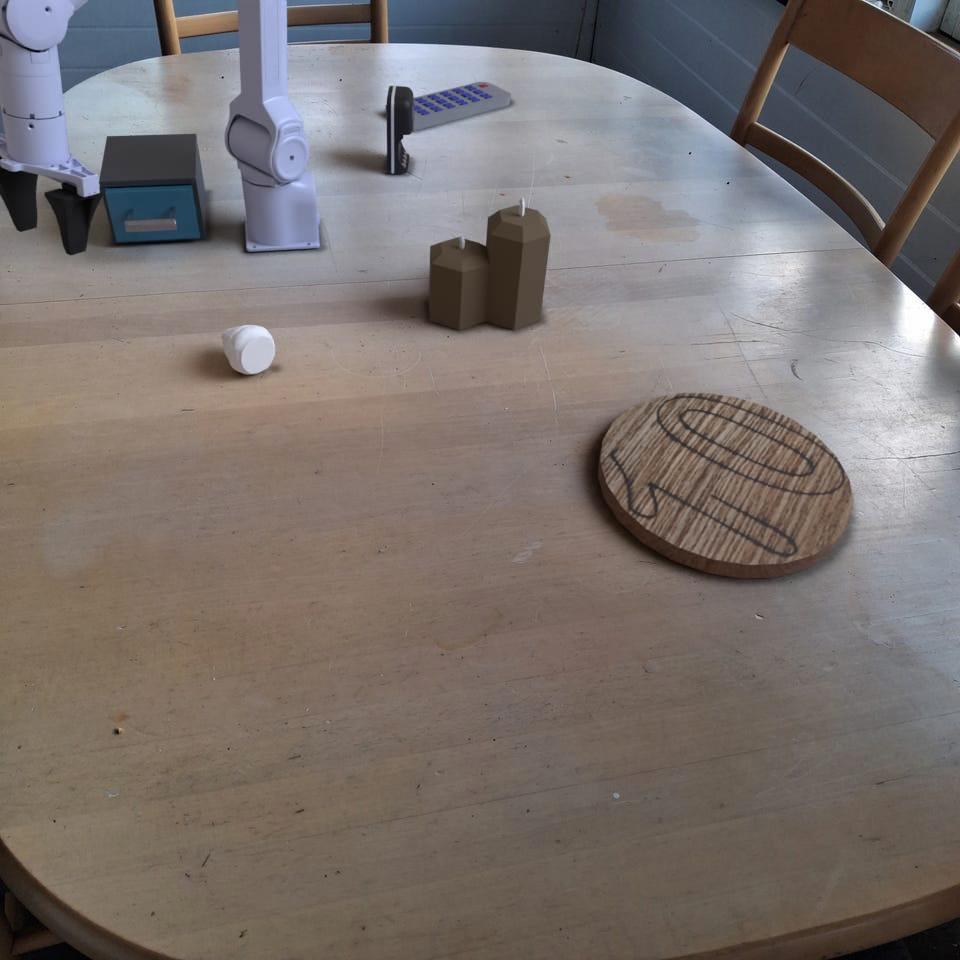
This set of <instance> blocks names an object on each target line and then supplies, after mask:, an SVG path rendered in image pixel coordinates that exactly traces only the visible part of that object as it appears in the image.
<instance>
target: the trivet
mask: <svg viewBox="0 0 960 960" xmlns="http://www.w3.org/2000/svg"><path fill="white" fill-rule="evenodd" d="M599 451H600V452H599V459H598V468H597V478H598V482H599V486H600V489H601V493H602V497H603V500H604V501H605V502H606V505H607V506H608V507H609V509H610V510H611V511H612V512H613V515H614V517H615V518H616V520H617V521H618V522H619V523H620V524H621V525H622V526H623V527H624V528H626V530H627V531H629V532H630V533H631V534H632V535H633V536H634V537H635V538H636V539H637V540H638V541H639V542H641V543H642V544H644V545H645V546H647V547H649V548H650V549H652V550H654V551H655V552H657V553H659V554H660V555H662V556H664V557H666V558H667V559H669V560H671V561H672V562H676V563H679V564H681V565H684V566H687V567H690V568H692V569H695V570H697V571H700V572H703V573H706V574H712V575H717V576H718V575H719V576H724V577H729V578H735V579H741V580H742V579H743V580H744V579H771V578H774V579H775V578H780V577H783V576H788V575H790V574H794V573H798V572H802V571H805V570H807V569H809V568H812V567H813V566H814V565H815V564H817V563H818V562H820V561H822V560H823V559H825V558H827V557H828V556H830V554H831V553H832V551H833V550H834V549H835V547H836V546H837V545H838V544H839V542H840V540H841V539H842V538H843V536H844V534H845V532H846V530H847V529H848V526H849V524H850V520H851V516H852V511H853V507H854V502H855V501H854V495H853V490H852V485H851V479H850V477H849V475H848V474H847V472H846V470H845V468H844V467H843V465H842V463H841V462H840V459H839V458H838V457H837V455H836V454H835V453H834V452H833V451H832V450H831V449H830V448H829V447H828V446H827V444H825V442H823V440H822V439H821V438H820V437H819V436H818V435H816V434H815V433H813V432H812V431H811V430H809V429H808V428H806V427H805V426H803V425H802V424H801V423H799V422H798V421H797V420H795V419H793V418H791V417H790V416H789V417H788V416H786V415H784V414H782V413H781V412H778V411H776V410H774V409H773V408H770V407H768V406H766V405H764V404H759V403H756V402H753V401H749V400H746V399H743V398H740V397H737V396H729V395H723V394H716V393H709V392H678V393H672V394H667V395H662V396H657V397H653V398H649V399H648V400H645V401H642V402H641V403H638V404H636V405H633V406H631V407H629V408H628V409H627V410H626V411H624V412H623V413H622V414H621V415H620V416H618V417H617V418H616V419H614V421H612V423H611V424H610V427H609V428H608V431H607V432H606V434H605V435H604V437H603V439H602V442H601V446H600V450H599Z"/></svg>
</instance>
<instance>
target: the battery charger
mask: <svg viewBox="0 0 960 960" xmlns="http://www.w3.org/2000/svg"><path fill="white" fill-rule="evenodd" d="M414 98H415V97H414V92H413V90H412V88H411V87H409V86H401V85H395V84H393V85H390V86H388V90H387V96H386V105H387V116H386V173H388V174H391V175H393V174H405V173H407V172H408V171H409V165H410V154H409V153H408V152H407V151H406V148H405V147H404V144H403V141H402V140H403V139H404V136H410V135H411V134H412V133H413V132H414V131H413V123H414Z"/></svg>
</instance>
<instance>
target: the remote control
mask: <svg viewBox="0 0 960 960" xmlns="http://www.w3.org/2000/svg"><path fill="white" fill-rule="evenodd" d="M511 96H512V93H511V92H508V91H507V90H505V89H503V88H501V87H499V86H498V85H495V84H493V83H492V82H491V83H490V82H487V81H476V82H472V83H468V84H465V85H460V86H456V87H451V88H448V89H443V90H439V91H435V92H432V93H431V92H430V93H428V94H423V95H419V96H415V97H414V123H413V131H412V132H417V131H420V130H425V129H427V128H431V127H435V126H438V125H443V124H445V123H449V122H454V121H457V120H461V119H465V118H468V117H473V116H476V115H479V114H482V113H488V112H491V111H495V110H497V109H502V108H505V107H508V106H509V105H510V104H511V98H512V97H511ZM385 116H386V117H387V104H385Z"/></svg>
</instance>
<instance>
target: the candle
mask: <svg viewBox="0 0 960 960" xmlns="http://www.w3.org/2000/svg"><path fill="white" fill-rule="evenodd" d="M518 203H519V204H516V205H513V206H508V207H505V208H502V209H499V210H497V211H495V212H494V213H493V214H491V215H489V216H488V217H487V223H486V224H487V225H486V240H485V245H484V244H483V243H480V242H478V241H474V240H471V239H467V238H465V237H464V236H463V235H460V236H458V237H454V238H451V239H448V240H444V241H440V242H438V243H435V244H432V245H430V246H429V273H428V274H429V275H428V276H429V278H428V279H429V280H428V309H429V321H430V322H432V323H435V324H438V325H441V326H444V327H447V328H451V329H454V330H457V331H462V330H464V329H468V328H470V327H473V326H476V325H479V324H482V323H484V322H487V323H489V324H493V325H496V326H500V327H503V328H506V329H509V330H512V331H516V330H519V329H522V328H524V327H525V328H526V327H528V326H531V325H532V324H536V323H538V322H541V316H542V307H543V299H544V293H545V291H544V290H545V285H546V275H547V268H548V259H549V251H550V245H551V244H550V243H551V237H552V235H551V231H550V228H549V224H548V220H547V218H546V217H545V216H544V215H543V214H542V213H541V212H540V211H539V210H538V209H533V208H530V207H526V203H525V197H520V199H519V201H518Z"/></svg>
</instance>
